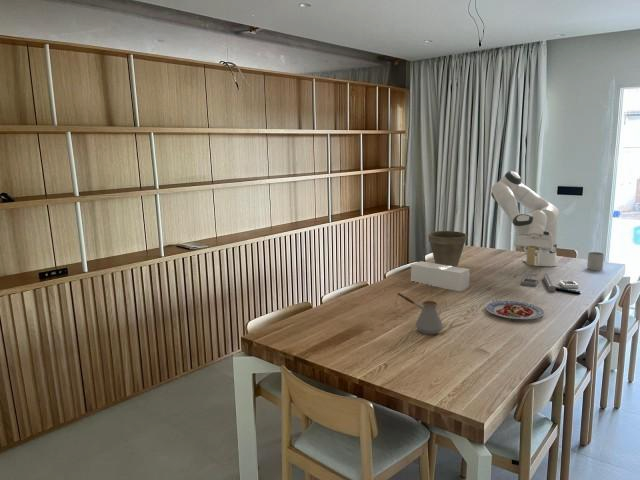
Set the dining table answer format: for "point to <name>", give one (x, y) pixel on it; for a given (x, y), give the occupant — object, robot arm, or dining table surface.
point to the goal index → (529, 282)
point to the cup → (595, 261)
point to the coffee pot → (427, 317)
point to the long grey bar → (549, 283)
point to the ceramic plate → (515, 309)
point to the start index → (568, 284)
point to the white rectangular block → (440, 275)
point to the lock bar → (531, 255)
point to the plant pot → (447, 246)
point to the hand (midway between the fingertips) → (531, 254)
